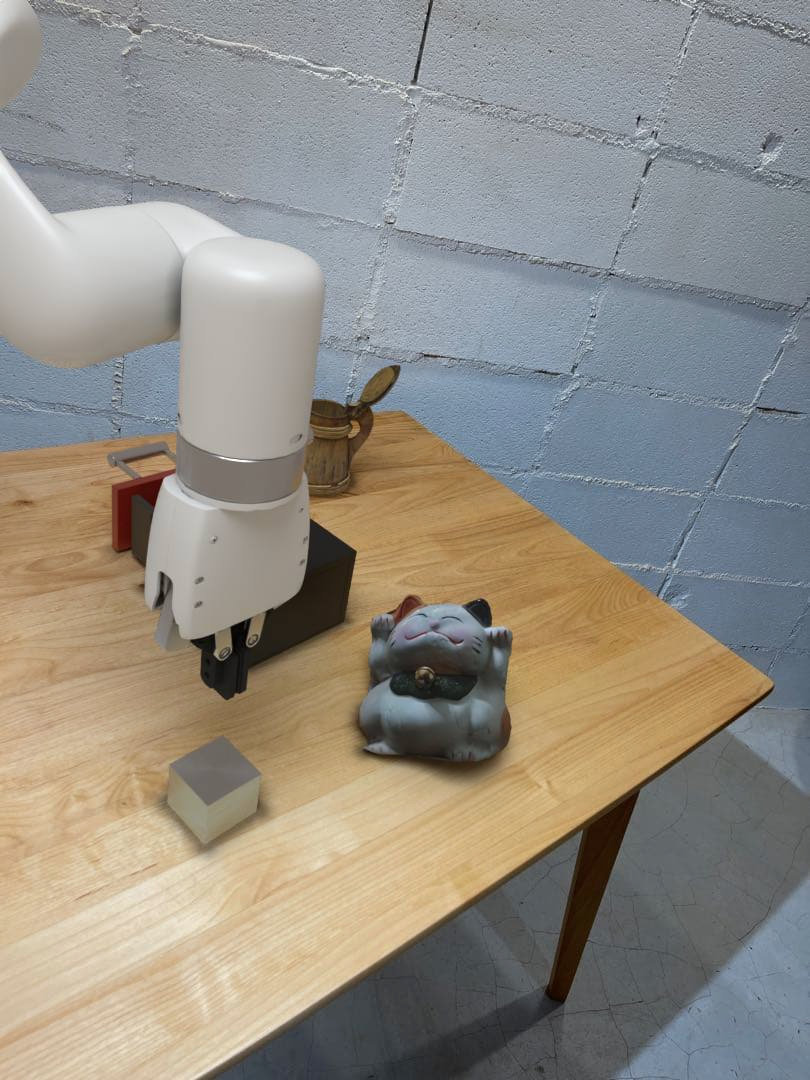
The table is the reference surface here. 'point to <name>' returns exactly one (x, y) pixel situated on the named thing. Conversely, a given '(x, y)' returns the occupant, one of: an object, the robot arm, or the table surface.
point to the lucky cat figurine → (437, 682)
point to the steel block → (213, 788)
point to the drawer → (136, 498)
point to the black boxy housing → (310, 597)
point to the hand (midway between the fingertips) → (223, 684)
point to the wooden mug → (342, 434)
